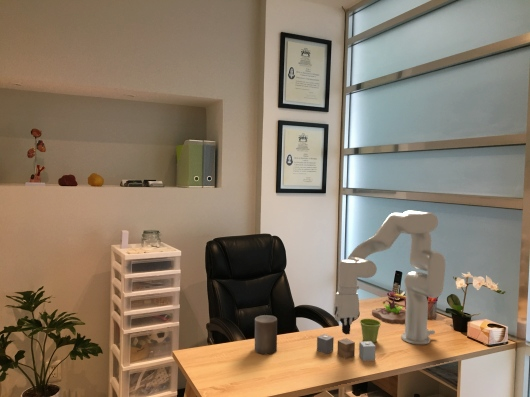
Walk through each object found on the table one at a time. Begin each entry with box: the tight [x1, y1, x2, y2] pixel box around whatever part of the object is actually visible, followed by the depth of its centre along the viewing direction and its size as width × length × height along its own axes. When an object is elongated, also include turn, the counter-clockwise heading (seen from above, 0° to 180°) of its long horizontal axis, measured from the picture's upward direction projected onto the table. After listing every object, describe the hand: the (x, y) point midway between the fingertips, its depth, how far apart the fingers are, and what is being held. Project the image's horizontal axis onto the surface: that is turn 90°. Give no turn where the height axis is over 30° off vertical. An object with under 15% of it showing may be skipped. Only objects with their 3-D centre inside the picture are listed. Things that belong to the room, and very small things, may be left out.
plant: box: [371, 296, 406, 325], centre depth 223 cm, size 20×20×11 cm
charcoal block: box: [316, 333, 334, 355], centre depth 178 cm, size 5×5×6 cm
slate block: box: [358, 340, 376, 362], centre depth 172 cm, size 5×5×6 cm
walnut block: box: [336, 337, 356, 360], centre depth 174 cm, size 5×5×6 cm
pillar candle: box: [254, 314, 278, 355], centre depth 178 cm, size 10×10×15 cm
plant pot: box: [359, 318, 382, 344], centre depth 190 cm, size 9×9×9 cm
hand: (345, 333), depth 173 cm, fingers closed
